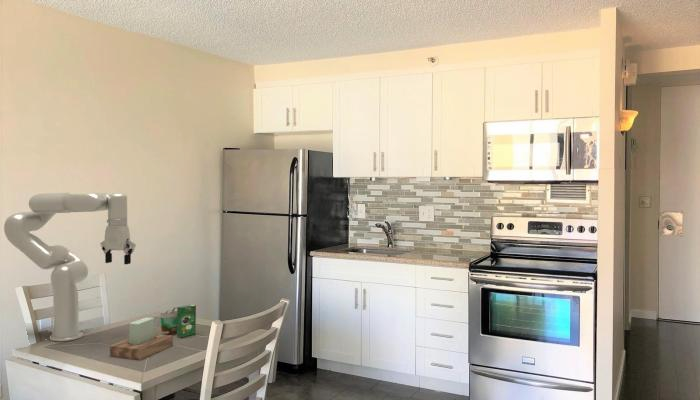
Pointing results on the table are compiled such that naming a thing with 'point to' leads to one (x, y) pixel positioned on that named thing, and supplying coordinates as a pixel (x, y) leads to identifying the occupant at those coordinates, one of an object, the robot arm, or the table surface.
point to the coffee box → (186, 320)
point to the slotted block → (141, 347)
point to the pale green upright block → (141, 331)
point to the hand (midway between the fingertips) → (118, 263)
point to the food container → (169, 322)
